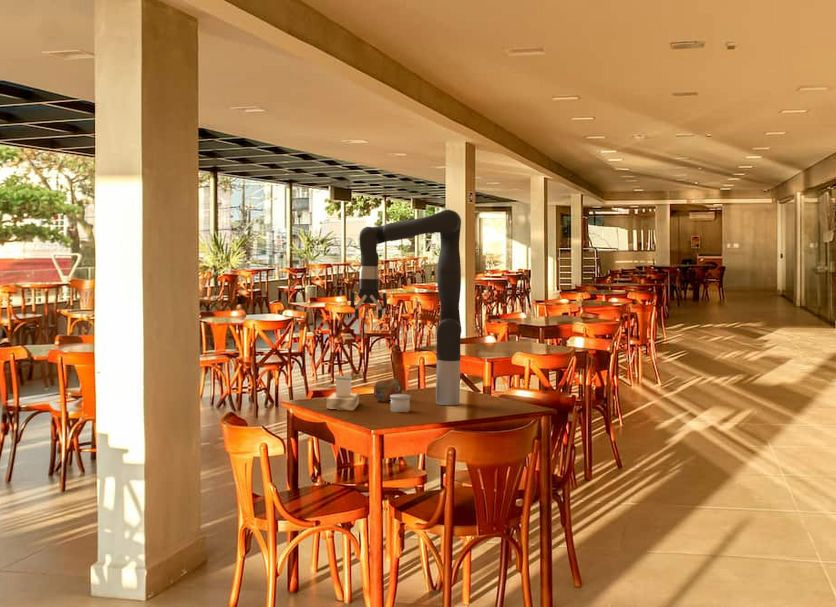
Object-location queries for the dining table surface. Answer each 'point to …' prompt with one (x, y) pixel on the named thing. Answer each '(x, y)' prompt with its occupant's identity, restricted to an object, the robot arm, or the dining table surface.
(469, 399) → the dining table surface
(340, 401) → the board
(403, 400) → the sugar bowl
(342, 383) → the green and cream block
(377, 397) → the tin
